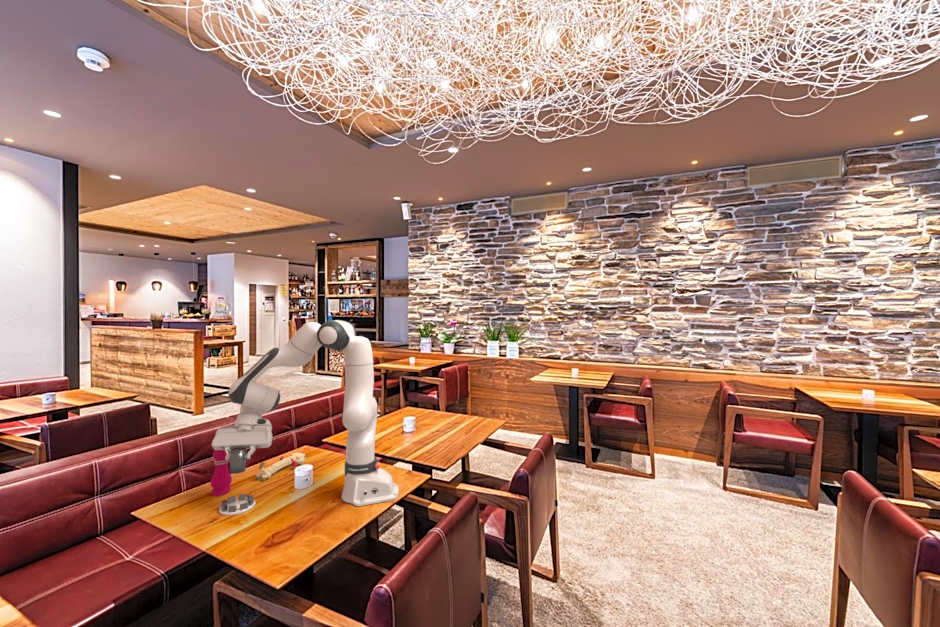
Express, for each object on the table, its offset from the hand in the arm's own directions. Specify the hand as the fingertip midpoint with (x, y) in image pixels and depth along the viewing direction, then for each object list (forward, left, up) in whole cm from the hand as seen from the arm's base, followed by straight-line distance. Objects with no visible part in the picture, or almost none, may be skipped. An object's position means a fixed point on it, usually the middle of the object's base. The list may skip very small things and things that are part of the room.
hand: (237, 459), depth 143 cm
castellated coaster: (0, -1, -18) cm, 18 cm away
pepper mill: (+11, -15, -19) cm, 26 cm away
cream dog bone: (-7, -34, -19) cm, 39 cm away
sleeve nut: (0, -1, -5) cm, 5 cm away
